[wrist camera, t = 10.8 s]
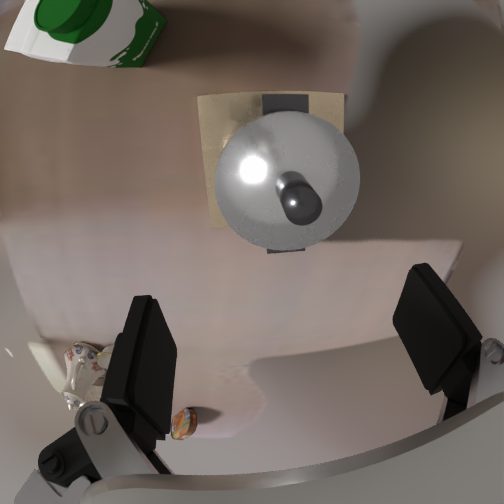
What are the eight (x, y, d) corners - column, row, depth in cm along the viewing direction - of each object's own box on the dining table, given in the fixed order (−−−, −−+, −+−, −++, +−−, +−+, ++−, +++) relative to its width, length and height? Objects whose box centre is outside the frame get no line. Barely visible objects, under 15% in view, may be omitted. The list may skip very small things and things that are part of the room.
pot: (197, 96, 29) (185, 98, 21) (341, 93, 30) (378, 97, 22) (212, 225, 39) (207, 267, 31) (335, 217, 40) (361, 253, 31)
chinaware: (123, 386, 65) (120, 438, 52) (68, 370, 59) (59, 422, 46) (141, 332, 53) (134, 403, 40) (67, 308, 46) (45, 377, 33)
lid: (208, 115, 22) (201, 122, 17) (359, 113, 23) (392, 122, 17) (223, 249, 30) (221, 287, 25) (348, 239, 30) (370, 272, 25)
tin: (189, 404, 68) (188, 430, 61) (199, 406, 69) (198, 432, 62) (170, 418, 74) (168, 441, 67) (179, 421, 76) (178, 443, 69)
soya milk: (144, 76, 27) (52, 71, 10) (88, 58, 24) (-21, 57, 7) (177, 17, 23) (121, -50, 6) (118, 2, 20) (30, -45, 3)
